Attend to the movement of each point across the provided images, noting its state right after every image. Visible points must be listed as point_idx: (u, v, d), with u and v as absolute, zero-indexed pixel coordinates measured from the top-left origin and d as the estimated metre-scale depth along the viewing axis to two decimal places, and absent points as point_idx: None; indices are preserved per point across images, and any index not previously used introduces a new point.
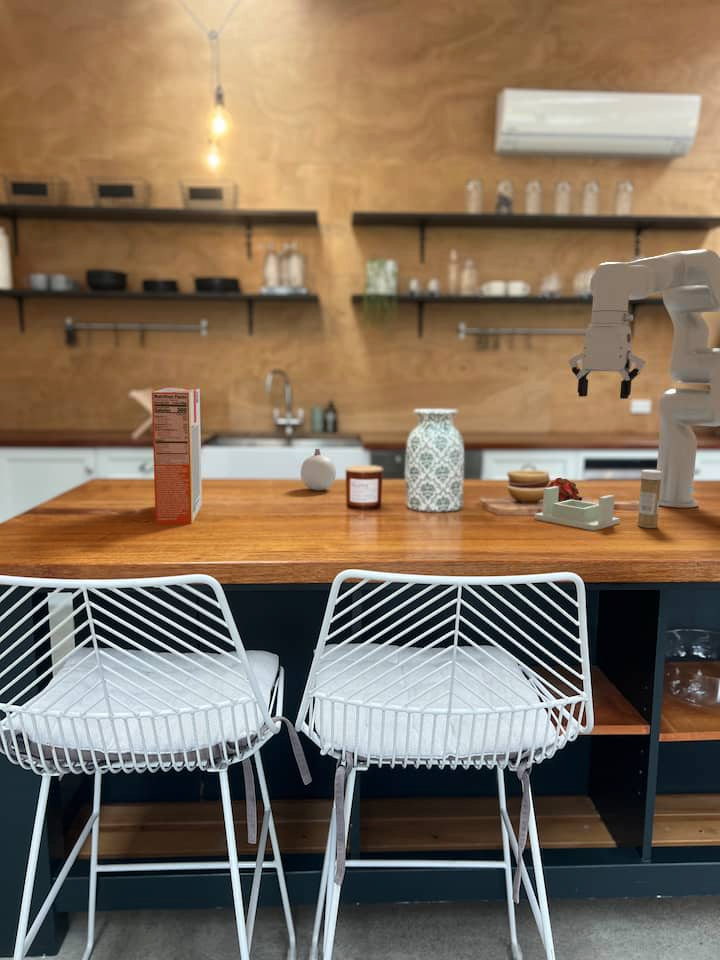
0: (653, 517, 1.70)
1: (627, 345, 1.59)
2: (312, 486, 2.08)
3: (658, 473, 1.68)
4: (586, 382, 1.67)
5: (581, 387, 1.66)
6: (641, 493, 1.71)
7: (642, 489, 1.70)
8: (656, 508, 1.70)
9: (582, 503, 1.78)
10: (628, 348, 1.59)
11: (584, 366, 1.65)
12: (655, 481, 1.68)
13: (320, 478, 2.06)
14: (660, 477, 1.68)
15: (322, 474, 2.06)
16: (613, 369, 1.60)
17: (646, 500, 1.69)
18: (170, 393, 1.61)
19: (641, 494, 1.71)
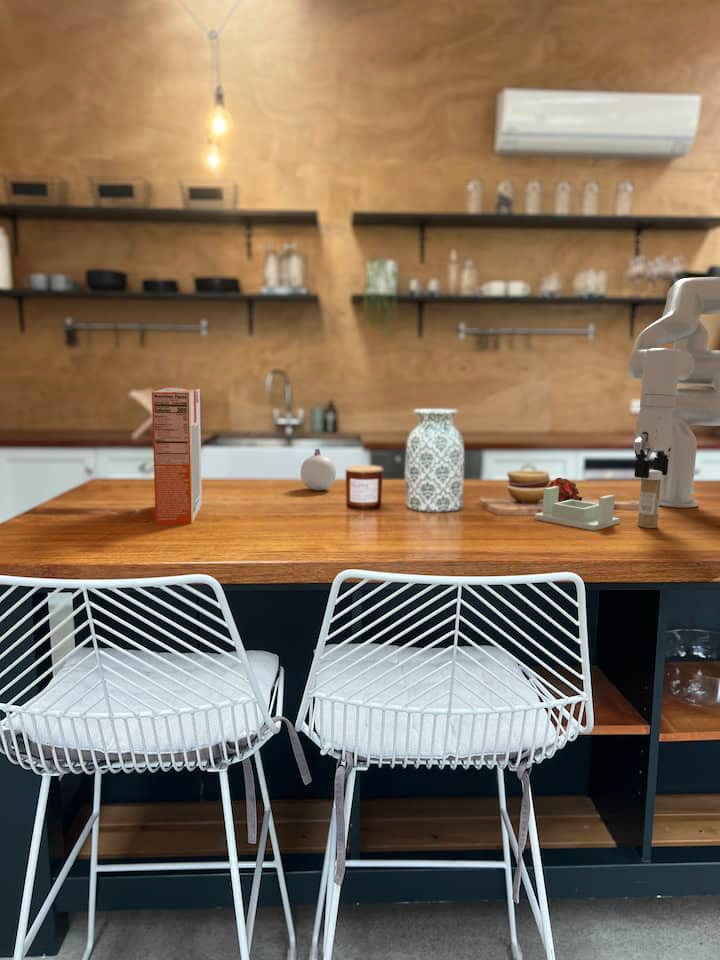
0: (653, 517, 1.70)
1: None
2: (312, 486, 2.08)
3: (658, 473, 1.68)
4: None
5: (649, 469, 1.65)
6: (641, 493, 1.71)
7: (642, 489, 1.70)
8: (656, 508, 1.70)
9: (582, 503, 1.78)
10: None
11: (654, 448, 1.64)
12: (655, 481, 1.68)
13: (320, 478, 2.06)
14: (660, 477, 1.68)
15: (322, 474, 2.06)
16: (666, 449, 1.69)
17: (646, 500, 1.69)
18: (170, 393, 1.61)
19: (641, 494, 1.71)
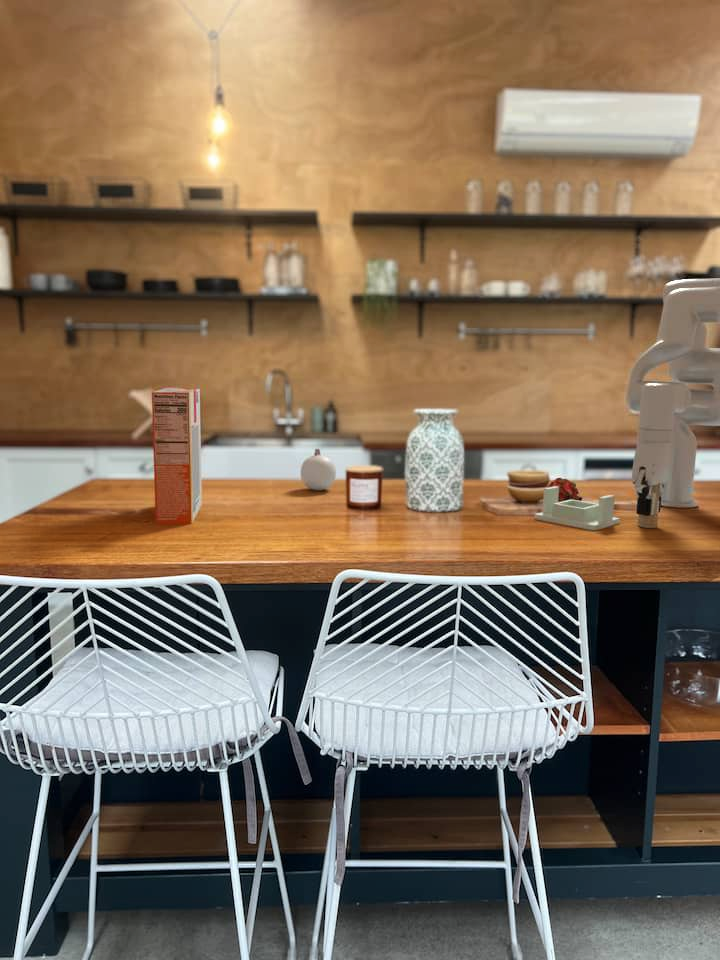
0: (653, 517, 1.70)
1: None
2: (312, 486, 2.08)
3: None
4: None
5: (650, 507, 1.69)
6: None
7: None
8: (656, 508, 1.70)
9: (582, 503, 1.78)
10: None
11: (651, 483, 1.66)
12: None
13: (320, 478, 2.06)
14: (660, 477, 1.68)
15: (322, 474, 2.06)
16: (664, 481, 1.71)
17: None
18: (170, 393, 1.61)
19: None
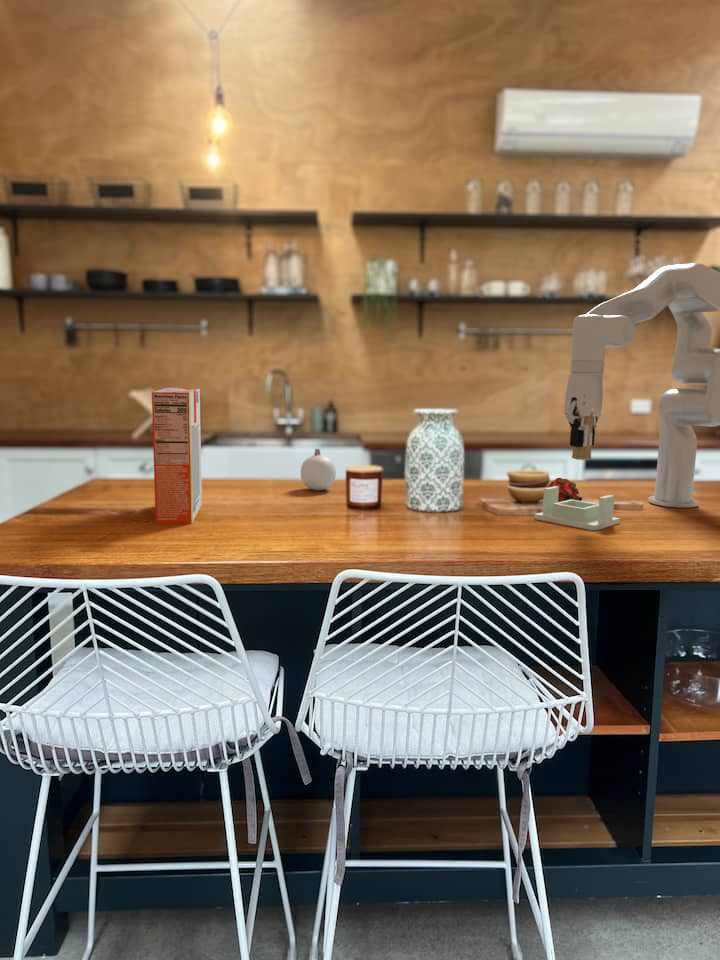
0: (586, 448, 1.72)
1: None
2: (312, 486, 2.08)
3: None
4: None
5: (583, 438, 1.71)
6: None
7: None
8: (589, 440, 1.71)
9: (582, 503, 1.78)
10: None
11: (583, 413, 1.68)
12: None
13: (320, 478, 2.06)
14: (592, 408, 1.70)
15: (322, 474, 2.06)
16: (597, 414, 1.73)
17: None
18: (170, 393, 1.61)
19: None
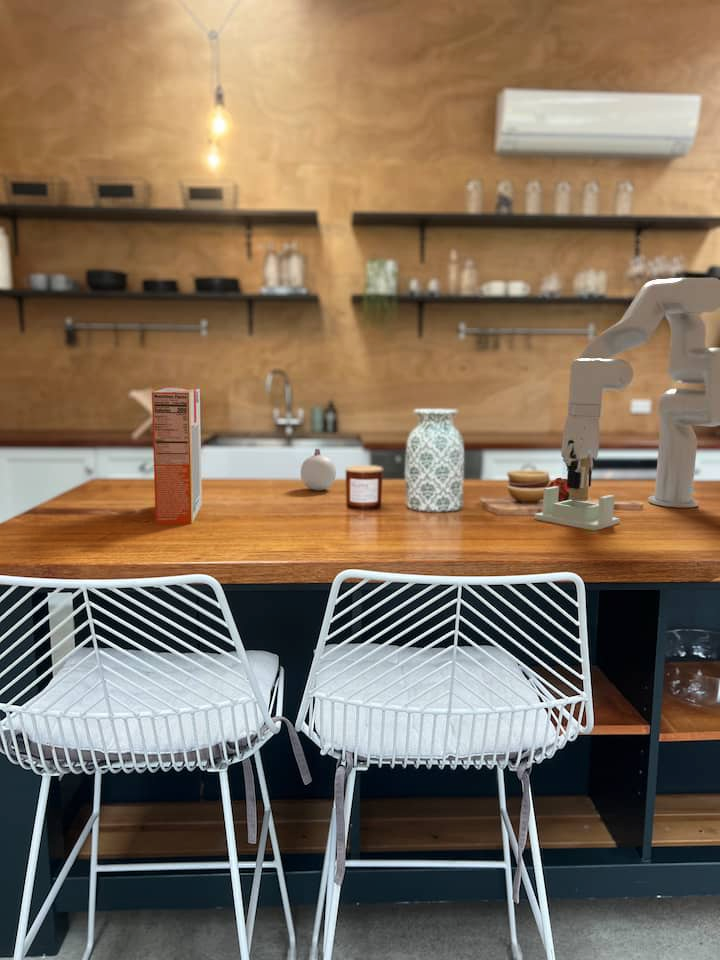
0: (582, 490, 1.73)
1: None
2: (312, 486, 2.08)
3: None
4: None
5: (579, 480, 1.72)
6: None
7: None
8: (586, 481, 1.73)
9: (582, 503, 1.78)
10: None
11: (580, 456, 1.70)
12: None
13: (320, 478, 2.06)
14: (589, 451, 1.72)
15: (322, 474, 2.06)
16: (594, 456, 1.74)
17: None
18: (170, 393, 1.61)
19: None
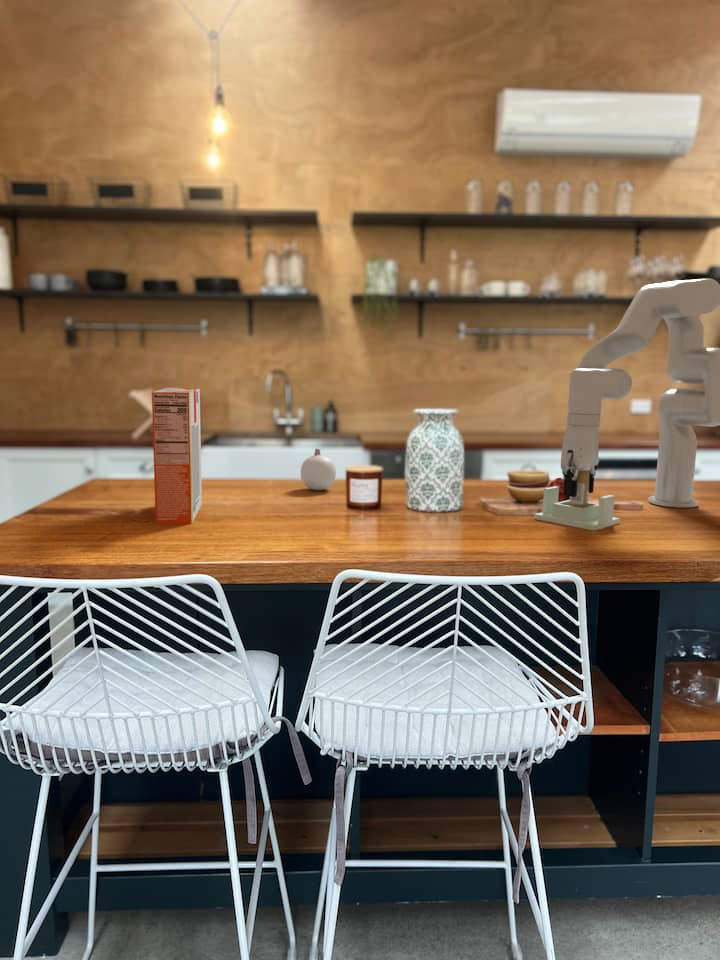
0: (582, 506, 1.74)
1: None
2: (312, 486, 2.08)
3: (587, 464, 1.72)
4: None
5: (576, 488, 1.72)
6: None
7: None
8: (585, 498, 1.74)
9: None
10: None
11: (579, 466, 1.70)
12: (584, 472, 1.72)
13: (320, 478, 2.06)
14: (589, 468, 1.73)
15: (322, 474, 2.06)
16: (593, 465, 1.75)
17: None
18: (170, 393, 1.61)
19: None
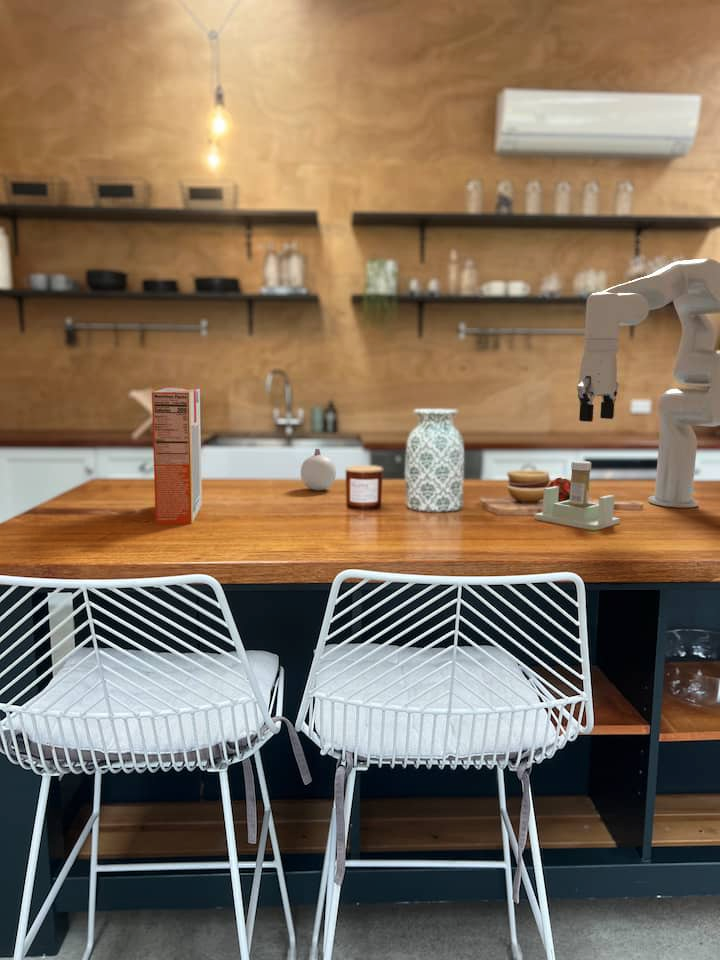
0: (582, 506, 1.74)
1: None
2: (312, 486, 2.08)
3: (587, 464, 1.72)
4: None
5: (592, 412, 1.69)
6: (571, 483, 1.75)
7: (572, 480, 1.75)
8: (585, 498, 1.74)
9: None
10: None
11: (597, 392, 1.68)
12: (584, 472, 1.73)
13: (320, 478, 2.06)
14: (589, 468, 1.73)
15: (322, 474, 2.06)
16: (611, 392, 1.73)
17: (575, 490, 1.74)
18: (170, 393, 1.61)
19: (571, 484, 1.75)
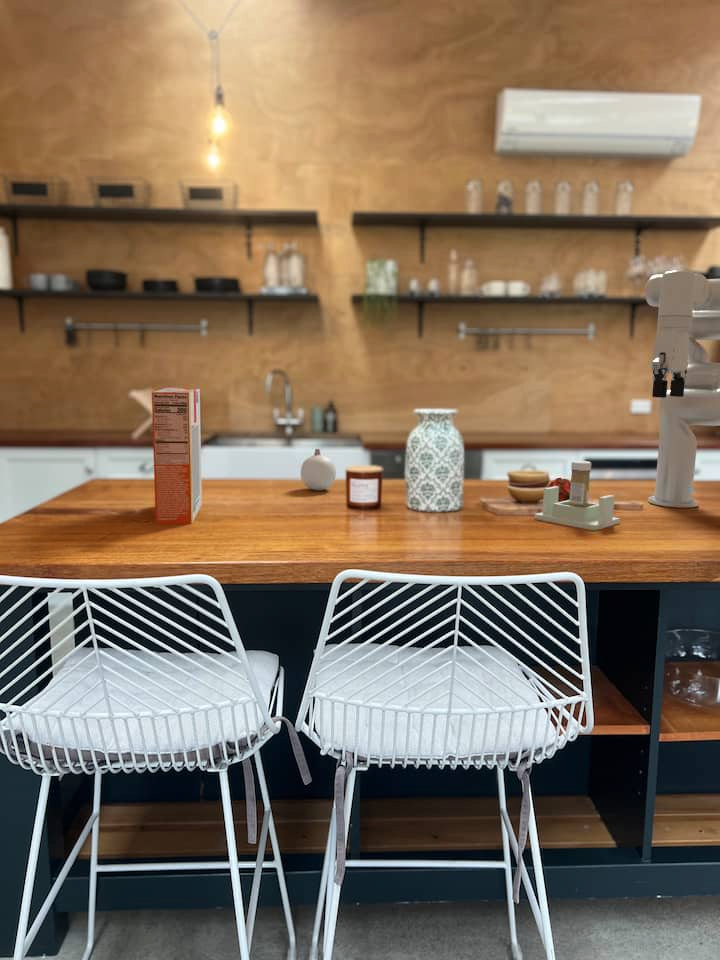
0: (582, 506, 1.74)
1: None
2: (312, 486, 2.08)
3: (587, 464, 1.72)
4: None
5: (666, 388, 1.71)
6: (571, 483, 1.75)
7: (572, 480, 1.75)
8: (585, 498, 1.74)
9: None
10: None
11: (671, 368, 1.70)
12: (584, 472, 1.73)
13: (320, 478, 2.06)
14: (589, 468, 1.73)
15: (322, 474, 2.06)
16: (683, 370, 1.75)
17: (575, 490, 1.74)
18: (170, 393, 1.61)
19: (571, 484, 1.75)
